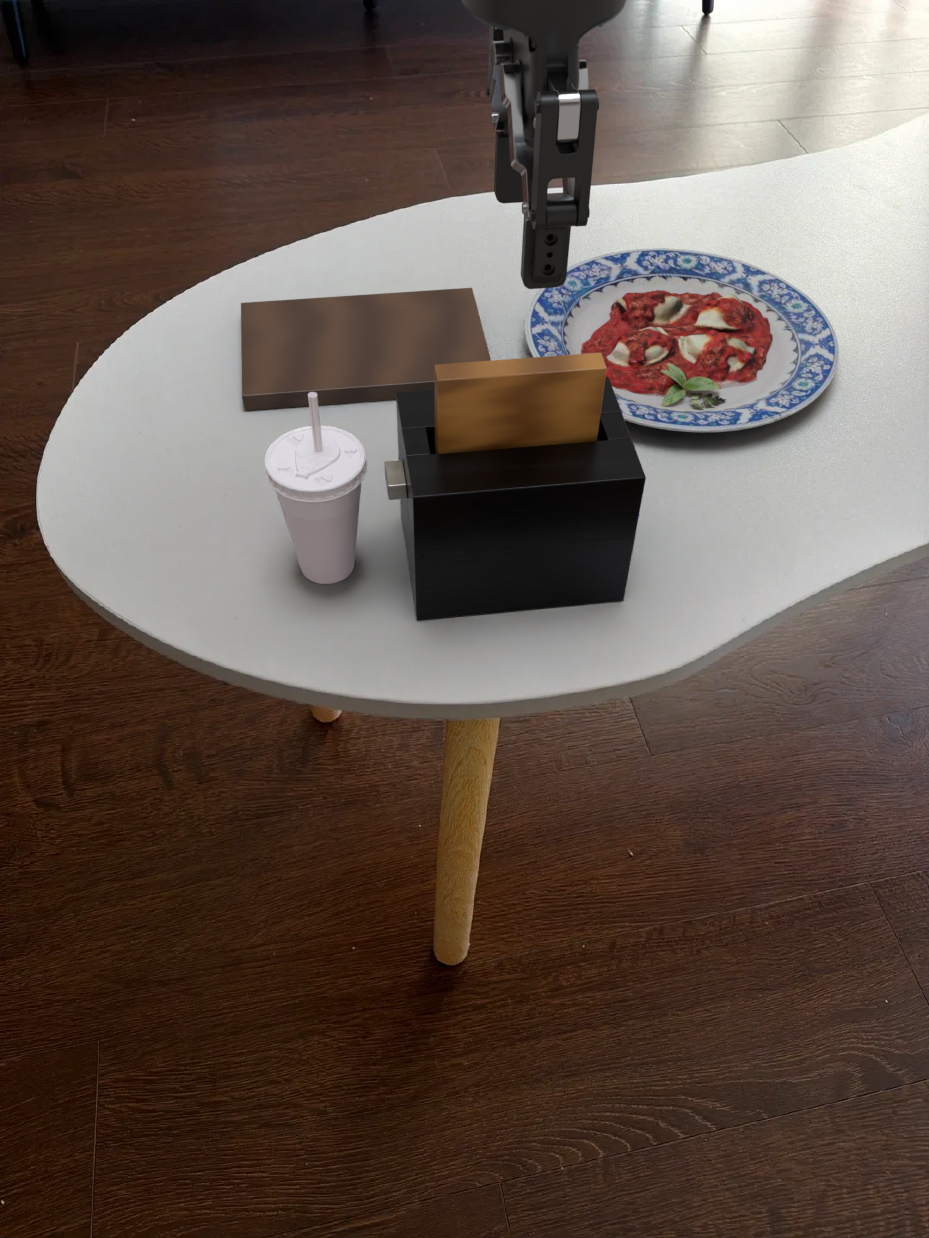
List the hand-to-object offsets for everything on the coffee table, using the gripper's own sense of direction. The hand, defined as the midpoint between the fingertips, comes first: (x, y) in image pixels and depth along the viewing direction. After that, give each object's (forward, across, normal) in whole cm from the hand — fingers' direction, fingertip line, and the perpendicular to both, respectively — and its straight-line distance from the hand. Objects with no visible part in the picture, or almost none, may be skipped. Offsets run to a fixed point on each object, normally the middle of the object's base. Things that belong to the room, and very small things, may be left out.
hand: (527, 240), depth 58 cm
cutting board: (+24, -25, -8) cm, 36 cm away
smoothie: (+24, -1, -12) cm, 27 cm away
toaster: (+24, 0, 0) cm, 24 cm away
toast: (+18, 0, 0) cm, 18 cm away
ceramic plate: (+24, -22, +18) cm, 37 cm away
